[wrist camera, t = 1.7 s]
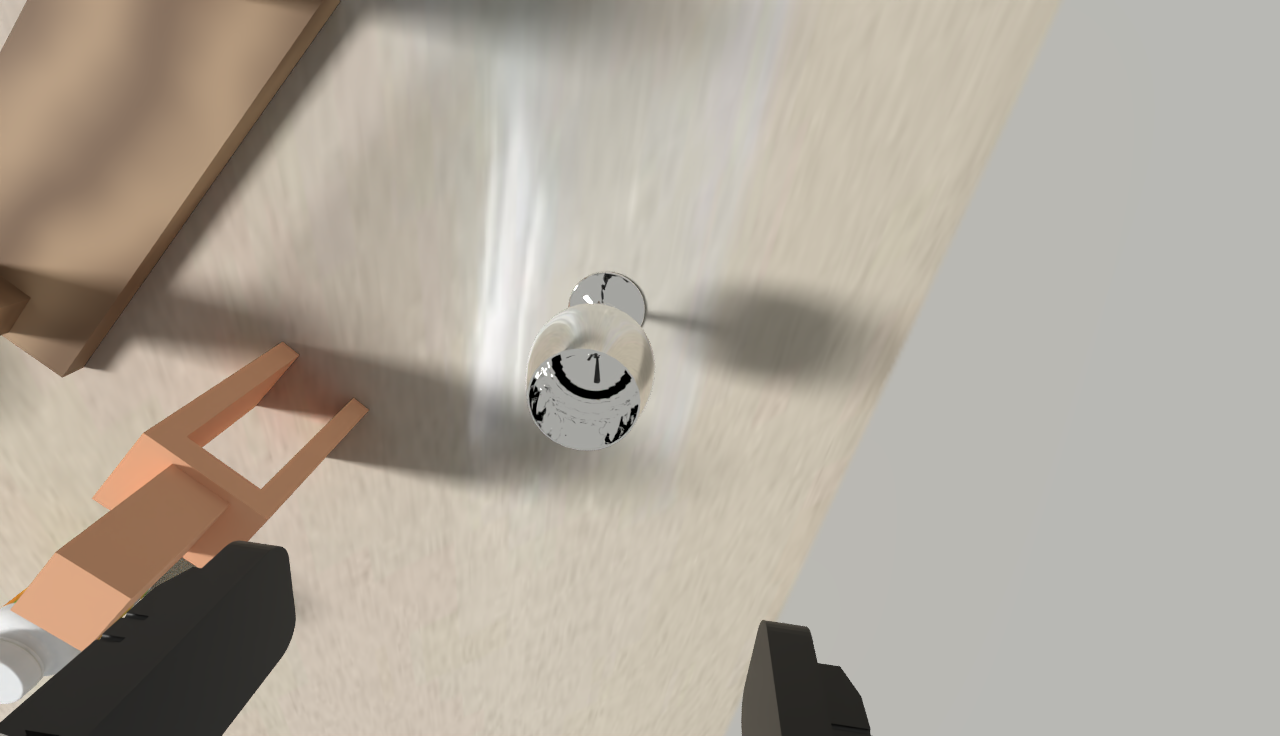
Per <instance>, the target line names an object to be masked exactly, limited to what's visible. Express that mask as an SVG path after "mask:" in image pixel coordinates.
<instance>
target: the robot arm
mask: <svg viewBox="0 0 1280 736" xmlns="http://www.w3.org/2000/svg"><path fill="white" fill-rule="evenodd" d="M295 621H296V615H295V606H294V598H293V589H292V581H291V572H290V564H289V556H288V553H287V551H286V549H285V548H283V547H280V546H274V545H267V544H260V543H253V542H247V541H240V540H238V541H233V542H231V543H229V544H228V545H227V546H225V547H224V548H223V549H222V550H221V551H220V552H219V553H218V554H217V555H216V556H214V557H213V558H212V559H211V560H210V561H209V562H208V563H207V564H206V565H205V566H203V567H202V568H197V567H192V568H190V569H189V570H187V571H185V572H183V573H181V574H179V575H177V576H175V577H174V578H172V579H170V580H168V581H166V582H164V583H162V584H160V585H159V586H157V587H155V588H154V589H153V590H152V591H151V592H150V593H148V594H147V595H146V596H145V597H144V598H143V599H142V600H140V601H139V602H138V603H137V604H136V605H135V606H134V607H132V608H131V609H130V610H129V611H128V612H127V615H126V617H125V618H120V619H119V620H117V621H116V622H115V623H114V624H113V625H112V626H111V627H109V628H108V629H107V630H106V631H105V632H104V633H103V634H102V637H101V639H100V640H94V641H93V642H92V643H91V644H90V645H89V646H88V647H86V648H85V649H84V650H83V651H82V652H81V653H80V654H78V655H77V656H76V657H75V658H74V659H73V660H71V661H70V662H69V663H68V664H67V665H66V666H65V667H63V668H62V669H61V670H60V671H59V672H58V673H57V674H55V675H54V676H53V677H52V678H51V679H50V680H49V681H47V682H46V683H45V684H44V685H43V686H42V687H40V688H39V689H38V690H37V691H36V692H35V693H34V694H32V695H31V696H30V697H29V698H28V699H27V700H26V701H24V702H23V703H22V704H21V705H20V706H19V707H18V708H16V709H15V710H14V711H13V712H12V713H11V714H9V715H8V716H7V717H6V718H5V719H4V720H3V721H1V722H0V736H222V735H223V733H224V732H225V731H226V729H227V728H228V727H229V725H230V724H231V723H232V722H233V720H234V719H235V718H236V716H237V715H238V714H239V712H240V711H241V710H242V708H243V707H244V706H245V705H246V703H247V702H248V701H249V699H250V698H251V697H252V695H253V694H254V693H255V692H256V690H257V689H258V688H259V686H260V685H261V684H262V682H263V681H264V680H265V678H266V677H267V676H268V675H269V673H270V672H271V671H272V669H273V668H274V667H275V665H276V664H277V663H278V662H279V660H280V659H281V658H282V656H283V655H284V653H285V651H286V650H287V648H288V646H289V643H290V641H291V639H292V635H293V632H294V628H295ZM741 721H742V722H741V723H742V736H871V735H870V726H869V723H868V719H867V715H866V712H865V708H864V705H863V702H862V698H861V696H860V694H859V693H858V691H857V690H856V688H855V687H854V686H853V684H852V683H851V682H850V680H849V679H848V677H847V676H846V674H845V673H844V671H843V670H842V669H841V667H840V666H833V665H827V664H820V663H817V658H816V654H815V649H814V645H813V640H812V636H811V633H810V630H809V628H808V627H805V626H798V625H792V624H785V623H778V622H772V621H765V620H762V621H761V623H760V625H759V628H758V632H757V636H756V641H755V645H754V649H753V653H752V657H751V661H750V666H749V670H748V674H747V678H746V682H745V687H744V693H743V701H742V720H741Z"/></svg>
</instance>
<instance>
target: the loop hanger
mask: <svg viewBox="0 0 1280 736" xmlns="http://www.w3.org/2000/svg"><path fill="white" fill-rule="evenodd" d="M298 356H299V354H297V353H296V352H295V351H294V350H292V349H291V348H290V347H289V346H287V345H286V344H285V343H284V342H281V343H280V344H278V345H277V346H275V347H274V348H272V349H271V350H269V351H268V352H266V353H265V354H263V355H262V356H260V357H258V358H257V359H255V360H254V361H252V362H251V363H249V364H248V365H246V366H245V367H243V368H242V369H240V370H239V371H237V372H236V373H234V374H233V375H231V376H229V377H228V378H226V379H225V380H223V381H222V382H220V383H219V384H217V385H216V386H214V387H213V388H211V389H210V390H208V391H207V392H205V393H204V394H202V395H200V396H199V397H197V398H196V399H194V400H193V401H191V402H190V403H188V404H187V405H185V406H184V407H182V408H181V409H179V410H178V411H176V412H175V413H173V414H171V415H170V416H168V417H167V418H165V419H164V420H162V421H161V422H159V423H158V424H156V425H155V426H153V427H152V428H150V429H149V430H147V431H146V432H144V433H143V434H142V435H141V437H140V438H139V439H138V440H137V442H136V443H135V444H134V445H133V447H132V448H131V449H130V451H129V452H128V453H127V454H126V456H125V457H124V458H123V459H122V461H121V462H120V463H119V465H118V466H117V467H116V468H115V470H114V471H113V472H112V474H111V475H110V476H109V477H108V479H107V480H106V481H105V482H104V484H103V485H102V486H101V488H100V489H99V490H98V491H97V493H96V494H95V495H94V496H93V498H92V499H94V500H95V501H97V502H98V503H100V504H101V505H103V506H104V507H106V508H107V509H109V510H110V511H109V512H108V513H107V514H105V515H104V516H103V517H101V518H100V519H99V520H97V521H96V522H95V523H93V524H92V525H91V526H89V527H88V528H87V529H86V530H84V531H83V532H82V533H80V534H79V535H78V536H76V537H75V538H74V539H72V540H71V541H70V542H68V543H67V544H66V545H64V546H63V547H62V548H60V549H59V550H58V551H56V552H55V554H54V555H53V556H52V557H51V559H50V560H49V561H48V562H47V564H46V565H45V566H44V567H43V569H42V570H41V571H40V573H39V574H38V575H37V576H36V578H35V579H34V580H33V581H32V583H31V584H30V585H29V586H28V588H27V589H26V590H25V591H24V593H23V594H22V595H21V597H20V598H19V599H18V600H17V602H16V603H15V604H14V605H13V607H12V608H11V609H10V610H11V611H12V612H14V613H16V614H18V615H19V616H21V617H23V618H24V619H26V620H28V621H30V622H31V623H33V624H35V625H37V626H38V627H40V628H42V629H43V630H45V631H47V632H49V633H50V634H52V635H54V636H55V637H57V638H59V639H61V640H62V641H64V642H66V643H68V644H69V645H71V646H73V647H74V648H76V649H78V650H80V651H81V652H82V651H83V650H84V649H85V648H86V647H88V646H89V645H90V644H91V643H92V642H93V641H94V640H97V639H98V638H99V637H100V636H101V635H102V634H103V633H104V632H105V631H106V630H107V629H108V628H109V627H110V626H111V625H112V624H114V623H115V622H116V621H117V620H118V619H119V618H120V617H121V616H122V615H123V614H124V613H125V612H126V611H127V610H128V609H129V608H130V607H131V606H132V605H133V604H134V603H135V602H136V601H137V600H138V599H139V598H140V597H141V596H142V595H143V594H145V593H146V592H147V591H148V590H149V589H150V588H151V587H152V586H153V585H154V584H155V583H156V582H157V581H158V580H159V579H160V578H161V577H162V576H163V575H164V574H165V573H166V572H167V571H168V570H169V569H170V568H171V567H172V566H173V565H174V564H175V563H177V562H178V561H179V560H180V559H181V558H182V557H183V558H184V559H186V560H187V561H189V562H190V563H192V564H193V565H195V566H196V567H198V568H202V567H203V566H205V565H206V564H207V563H208V562H209V561H210V560H211V559H212V558H213V557H214V556H216V555H217V554H218V553H219V552H220V551H221V550H222V549H223V548H224V547H225V546H227V545H228V544H229V543H231V542H233V541H238V540H240V541H247V542H248V541H249V540H250V538H251V537H252V536H253V535H254V534H255V533H256V532H257V531H258V530H259V529H260V528H261V527H262V526H263V525H264V524H265V523H266V522H267V520H268V519H269V518H270V517H271V516H272V515H273V514H274V513H275V512H276V511H277V510H278V509H279V507H280V506H281V505H282V504H283V503H284V502H285V501H286V500H287V499H288V498H289V497H290V496H291V494H292V493H293V492H294V491H295V490H296V489H297V488H298V487H299V486H300V485H301V484H302V483H303V481H304V480H305V479H306V478H307V477H308V476H309V475H310V474H311V473H312V472H313V471H314V469H315V468H316V467H317V466H318V465H319V464H320V463H321V462H322V461H323V460H324V459H325V458H326V456H327V455H328V454H329V453H330V452H331V451H332V450H333V449H334V448H335V447H336V446H337V445H338V443H339V442H340V441H341V440H342V439H343V438H344V437H345V436H346V435H347V434H348V433H349V431H350V430H351V429H352V428H353V427H354V426H355V425H356V424H357V423H358V422H359V421H360V420H361V418H362V417H363V416H364V415H365V414H366V413H367V412H368V411H369V409H367V408H366V407H365V406H363V405H362V404H361V403H360V402H358V401H357V400H356V399H355V398H353V399H352V400H351V401H350V402H349V403H348V404H347V405H346V406H345V407H344V408H343V409H342V410H341V411H340V412H339V413H338V414H337V415H336V416H335V417H334V418H333V419H332V420H331V421H329V422H328V423H327V424H326V425H325V426H324V427H323V428H322V429H321V430H320V431H319V432H318V433H317V434H316V435H315V436H314V437H313V438H312V439H311V440H310V441H309V442H308V443H307V444H306V445H305V446H304V447H303V448H302V449H301V450H300V451H299V452H298V453H297V454H296V455H295V456H294V457H293V458H292V459H291V460H290V461H289V462H288V463H287V464H286V465H285V466H284V467H283V468H282V469H281V470H280V471H279V472H278V473H277V474H276V475H275V476H274V477H273V478H272V479H271V480H270V481H269V482H268V483H267V484H266V485H265V486H264V487H263V488H262V489H260V488H258V487H257V486H255V485H254V484H252V483H251V482H250V481H248V480H247V479H245V478H244V477H243V476H241V475H240V474H238V473H237V472H236V471H234V470H233V469H231V468H230V467H228V466H227V465H226V464H224V463H223V462H221V461H220V460H219V459H217V458H216V457H214V456H213V455H212V454H210V453H209V452H207V451H206V450H204V449H203V448H202V447H203V446H205V445H206V444H207V443H208V442H210V441H211V440H212V439H214V438H215V437H216V436H218V435H219V434H220V433H221V432H223V431H224V430H225V429H227V428H228V427H229V426H231V425H232V424H233V423H234V422H236V421H237V420H238V419H240V418H241V417H242V416H244V415H245V414H246V413H247V412H249V411H250V410H251V409H253V408H254V407H255V406H256V405H257V404H258V403H259V402H260V400H261V399H262V398H263V397H264V396H265V395H266V393H267V392H268V391H269V390H270V389H271V388H272V386H273V385H274V384H275V383H276V382H277V381H278V379H279V378H280V377H281V376H282V375H283V374H284V372H285V371H286V370H287V369H288V368H289V367H290V365H291V364H292V363H293V362H294V361H295V360H296V358H297V357H298Z"/></svg>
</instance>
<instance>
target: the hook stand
mask: <svg viewBox="0 0 1280 736" xmlns="http://www.w3.org/2000/svg"><path fill="white" fill-rule="evenodd" d="M339 3H340V0H27V2H26V4H25V6H24V8H23V9H22V11H21V13H20V15H19V17H18V19H17V21H16V23H15V25H14V27H13V29H12V31H11V33H10V34H9V36H8V38H7V40H6V42H5V44H4V46H3V48H2V50H1V52H0V336H1V335H2V336H3V337H5V338H6V339H8V340H9V341H11V342H12V343H14V344H15V345H16V346H18V347H19V348H21V349H22V350H24V351H25V352H26V353H28V354H29V355H31V356H32V357H34V358H35V359H37V360H38V361H39V362H41V363H42V364H44V365H45V366H47V367H48V368H49V369H51V370H52V371H54V372H55V373H57V374H58V375H59V376H61V377H64V376H66V375H68V374H70V373H73V372H75V371H77V370H79V369H81V368H83V367H84V366H85V364H86V363H87V361H88V360H89V358H90V357H91V356H92V354H93V353H94V351H95V350H96V349H97V347H98V346H99V344H100V343H101V341H102V340H103V339H104V337H105V336H106V334H107V333H108V331H109V330H110V329H111V327H112V326H113V324H114V323H115V321H116V320H117V319H118V317H119V316H120V314H121V313H122V312H123V310H124V309H125V307H126V306H127V304H128V303H129V302H130V300H131V299H132V297H133V296H134V294H135V293H136V292H137V290H138V289H139V287H140V286H141V284H142V283H143V282H144V280H145V279H146V277H147V276H148V274H149V273H150V272H151V270H152V269H153V267H154V266H155V265H156V263H157V262H158V260H159V259H160V257H161V256H162V255H163V253H164V252H165V250H166V249H167V247H168V246H169V245H170V243H171V242H172V240H173V239H174V237H175V236H176V235H177V233H178V232H179V230H180V229H181V228H182V226H183V225H184V223H185V222H186V220H187V219H188V218H189V216H190V215H191V213H192V212H193V210H194V209H195V208H196V206H197V205H198V203H199V202H200V200H201V199H202V198H203V196H204V195H205V193H206V192H207V191H208V189H209V188H210V186H211V185H212V183H213V182H214V181H215V179H216V178H217V176H218V175H219V173H220V172H221V171H222V169H223V168H224V166H225V165H226V163H227V162H228V161H229V159H230V158H231V156H232V155H233V153H234V152H235V151H236V149H237V148H238V146H239V145H240V144H241V142H242V141H243V139H244V138H245V136H246V135H247V134H248V132H249V131H250V129H251V128H252V126H253V125H254V124H255V122H256V121H257V119H258V118H259V116H260V115H261V114H262V112H263V111H264V109H265V108H266V107H267V105H268V104H269V102H270V101H271V99H272V98H273V97H274V95H275V94H276V92H277V91H278V89H279V88H280V87H281V85H282V84H283V82H284V81H285V79H286V78H287V77H288V75H289V74H290V72H291V71H292V69H293V68H294V67H295V65H296V64H297V62H298V61H299V60H300V58H301V57H302V55H303V54H304V52H305V51H306V50H307V48H308V47H309V45H310V44H311V42H312V41H313V40H314V38H315V37H316V35H317V34H318V32H319V31H320V30H321V28H322V27H323V25H324V24H325V23H326V21H327V20H328V18H329V17H330V15H331V14H332V13H333V11H334V10H335V8H336V7H337V5H338V4H339Z"/></svg>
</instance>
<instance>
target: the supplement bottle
mask: <svg viewBox="0 0 1280 736" xmlns="http://www.w3.org/2000/svg"><path fill="white" fill-rule="evenodd" d="M27 588H28V587H27ZM27 588H26V589H27ZM151 588H152V587H151ZM151 588H150V589H151ZM26 589H25V590H26ZM150 589H149V590H150ZM25 590H23V591H22V592H21V593H20V594H18V595H17V596H16V597H14V598H13V599H12V600H11V601H9V602H8V603H7V604H5V605H4V606H3V607H2V608H0V704H9V703H13V702H16V701H18V700H19V699H21V698H22V697H23V696H24V695H25V694H26V693H27V692H29V691H30V690H31V689H32V688H33V687H34V686H35V685H37V683H38V682H39V681H40V680H41V679H42V677H43V676H50V675H54V674H57V673H58V672H59V671H60V670H61V669H62V668H63V667H65V666H66V665H67V664H68V663H69V662H70V661H71V660H73V659H74V658H75V657H76V656H77V655H78V654H80V653H81V651H80V650H78V649H76V648H74V647H73V646H71V645H69V644H68V643H66V642H64V641H62V640H61V639H59V638H57V637H55V636H54V635H52V634H50V633H49V632H47V631H45V630H43V629H42V628H40V627H38V626H37V625H35V624H33V623H31V622H30V621H28V620H26V619H24V618H23V617H21V616H19V615H18V614H16V613H14V612H12V611H11V610H10V609H11V608H12V607H13V605H14V604H15V603H16V602H17V600H18V599H19V598H20V597H21V595H22V594H23V593H24V591H25ZM149 590H148V591H149ZM148 591H147V592H148ZM147 592H146V593H147ZM146 593H145V594H146ZM145 594H143V595H142V596H141V597H140V598H139V599H138V600H137V601H136V602H135V603H134V604H133V605H132V606H131V607H130V608H129V609H128V610H127V611H126V612H125V613H124V614H123V615H122V616H121V617H120V618H122V617H123V616H124V615H125V614H126V613H127V612H128V611H129V610H130V609H131V608H132V607H133V606H134V605H135V604H136V603H137V602H138V601H139V600H140V599H142V598H143V597H144V596H145ZM120 618H119V619H120ZM119 619H118V620H119ZM112 625H113V624H112ZM112 625H111V626H112ZM111 626H110V627H111ZM101 637H102V635H101V636H100V637H99V638H98V639H97V640H99V639H100V638H101Z"/></svg>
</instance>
